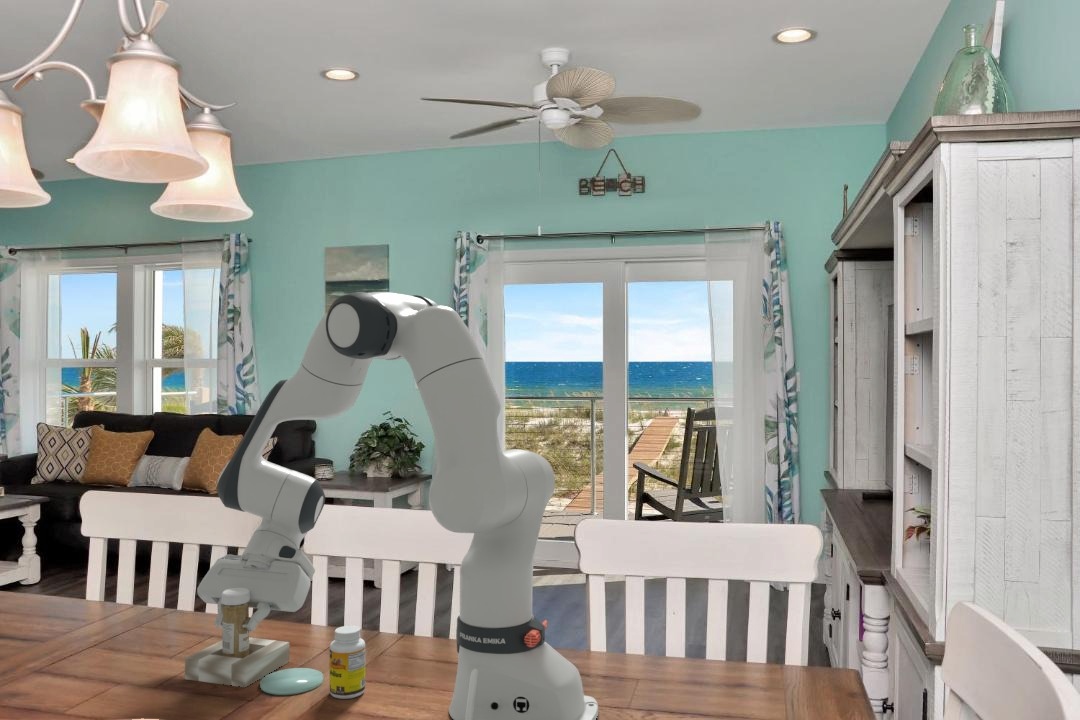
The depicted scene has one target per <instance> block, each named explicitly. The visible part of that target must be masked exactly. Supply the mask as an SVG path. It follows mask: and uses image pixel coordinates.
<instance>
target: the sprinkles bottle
mask: <svg viewBox="0 0 1080 720" xmlns="http://www.w3.org/2000/svg"><path fill="white" fill-rule="evenodd" d="M249 601H250V590H249V589H247V588H232V589H228V590H225V591H223V592H222V606H223V621H222V628H221V629H222V630H221V631H222V632H221V634H222V636H221V637H222V639H221V641H222V650H223V656H227V657H235V658H244V657H246V656H248V655H249V637H250V631H245V629H243V627H242V625H243V623H244V622H245V619H246V617H250V616H249V615H250V613H249V612H250V611H249V610H250V609H249Z"/></svg>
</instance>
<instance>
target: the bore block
mask: <svg viewBox="0 0 1080 720" xmlns="http://www.w3.org/2000/svg"><path fill="white" fill-rule="evenodd" d="M288 662H289V663H290V642H289V641H282V640H276V639H267V638H258V637H250V636H249V655H248V656H246V657H244V658H235V657H227V656H223V650H222V640H219V641H218V642H215V643H214V644H211V645H210V646H207V647H205V648H203V649H201V650H198V651H196V652H195V653H193V654H191V655H189V656H186V657H184V680H188V681H195V682H203V683H210V684H217V685H223V684H224V685H225V686H230V685H232V686H231V687H238V686H240V687H239V688H245V687H246V688H248V687H250V686H251V685H253V684H255V683H256V682H258V681H259V679H260V680H262V678H264V676H267V675H268V674H269V673H270V674H271V672H272V673H273V672H275V671H276V669H277V670H278V669H280V668H281V666H282V667H283V666H285V665H287V664H289V663H288ZM279 667H280V668H279ZM274 670H275V671H274ZM257 680H258V681H257ZM255 681H256V682H255ZM252 683H253V684H252ZM250 684H251V685H250ZM247 686H248V687H247Z"/></svg>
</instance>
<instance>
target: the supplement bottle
mask: <svg viewBox="0 0 1080 720" xmlns="http://www.w3.org/2000/svg"><path fill="white" fill-rule="evenodd" d="M333 638H334V640H333V641H331V642H330V644H329V694H330V695H331V696H332V697H333V698H336V699H340V700H348V699H355V698H358V697H359V696H361V695H362V694H364V692H365V690H366V641H365V640H364V639H363V638H361V628H360V627H359V626H357V625H343V626H339V627H337V628H336V629H335V630H334V637H333Z"/></svg>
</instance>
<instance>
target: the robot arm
mask: <svg viewBox="0 0 1080 720" xmlns="http://www.w3.org/2000/svg"><path fill="white" fill-rule="evenodd" d="M372 360H387V361H394V360H397V361H398V360H405V361H406V362H407V363H408V365H409V367H410V369H411V372H412V375H413V379H414V380H415V383H416V386H417V389H418V391H419V392H418V393H419V394H420V397H421V399H422V402H423V405H424V407H425V411H426V413H427V416H428V419H429V421H430V422H429V423H430V424H431V428H432V432H433V437H434V444H435V455H436V469H435V474H434V477H433V479H432V481H431V484H430V487H429V493H428V502H429V507H430V511H431V513H432V515H433V517H434V518H435V520H436V522H437V523H439V525H440V526H442V528H444V529H445V530H447V531H449V532H453V533H457V534H458V533H459V534H473V537H472V540H471V543H470V545H469V548H468V550H467V552H466V554H465V555H464V557H463V559H462V560H461V563H460V567H459V615H458V617H457V619H456V630H455V631H456V633H455V641H456V652H457V654H458V657H457V668H456V676H455V683H454V688H453V693H452V699H451V702H450V703H449V704H450V705H449V708H448V714H449V715H450V717H451V719H453V720H596V718H597V719H598V717H599V712H598V711H599V703H598V702H597V700H596V699H595V698H594V696H590V695H585V693H584V689H583V688H584V687H583V681H582V677H581V674H580V672H579V670H578V668H577V667H576V666H575V664H573V663H572V662H570V661H569V660H568V659H566V658H565V657H564V656H563V655H562V654H561V653H560V652H558V651H557V650H555V649H554V648H553V646H551V645H550V644H549V643H548V642H546V629H547V628H548V625H547V624H548V620H547V619H545V620H543V622H541V621H540V620H539V619H538V618H537V617H536V616H535V614H533V589H534V587H533V581H534V580H533V579H534V577H533V576H534V562H535V557H536V549H537V544H538V540H539V535H540V531H541V527H542V522H543V517H544V514H545V511H546V508H547V505H548V504H549V502H550V500H551V498H552V497H553V495H554V491H555V488H556V478H555V472H554V470H553V468H552V466H551V464H550V462H549V461H548V460H547V459H546V458H545V457H544V456H542V455H540V454H539V453H537V452H533V451H530V450H525V449H518V448H516V449H515V448H514V449H513V448H512V449H507V450H502V449H501V446H500V441H499V434H498V418H499V416H500V412H501V407H502V406H501V401H500V398H499V396H498V394H497V391H496V388H495V386H494V384H493V382H492V379H491V376H490V373H489V371H488V369H487V366H486V364H485V361H484V359H483V356H482V354H481V351H480V348H479V347H478V345H477V342H476V341H475V339H474V337H473V335H472V333H471V332H470V330H469V328H468V326H467V325H466V323H465V321H464V320H463V318H462V317H461V316H460V314H459V313H458V312H457V311H456V310H454V309H453V308H451V307H450V306H446V305H439V304H437V302H435V301H433V300H432V299H429V298H427V297H425V296H422V295H409V294H403V293H397V292H394V291H393V292H392V291H372V292H365V291H356V292H351V293H347V294H344V295H342V296H339V297H337V299H335V300H333V302H332V304H331V305H330V307H329V308H328V311H327V312H326V313H325V314H324V315H323V316H322V317H321V319H320V320H319V322H318V324H317V326H316V328H315V330H314V332H313V333H312V336H311V338H310V339H309V342H308V345H307V347H306V349H305V351H304V354H303V357H302V360H301V364H300V365H299V367H298V370H297V371H296V372H295V374H293V375H292V376H291V377H290V378H289V379H281V380H279V381H278V382H277V383H276V384H275V385H274V386H273V387H272V388H271V389H270V390H269V392H268V393H267V394H266V397H265V398H264V399H263V401H262V403H261V404H260V406H259V408H258V410H257V411H256V414H255V415H254V417H253V419H252V420H251V422H250V424H249V425H248V427H247V430H246V432H245V433H244V435H243V437H242V439H241V441H240V443H239V445H238V447H237V448H236V450H235V451H234V453H233V455H232V456H231V458H230V460H228V462H227V463H226V464H225V466H224V467H223V469H222V470H221V472H220V474H219V476H218V478H217V483H216V484H217V485H216V488H215V490H216V494H217V496H218V497H219V499H220V501H221V503H222V504H223V505H224V507H225V508H228V509H232V510H236V511H240V512H246V513H249V514H250V515H251V514H252V515H255V516H257V517H261V519H262V520H261V523H260V525H259V526H258V527H257V528H256V529H255V531H253V533H252V536H251V537H250V539H249V541H248V542H247V545H246V547H245V549H244V550H243V553H242V554H237V555H234V554H231V553H229V554H226V555H224V556H222V557H220V558H218V559H216V561H215V562H214V563H213V565H212V566H211V567H210V569H208V571H207V573H206V574H205V575H204V577H203V578H202V580H201V582H200V583H199V584H198V587H197V589H196V590H197V595H198V597H199V598H200V599H201V600H202V602H204V603H205V604H211V605H217V616H216V617H215V620H214V625H215V627H217V628H219V629H222V621H223V606H222V592H223V591H225V590H228V589H232V588H247V589H249V590H250V601H249V608H250V609H251V608H252V609H256V611H255V612H254V613H253V614H252V615H251V616H249V617H246V619H245V622H244V623H243V625H242V627H243V629H245V631H249V632H255V630H256V628H257V626H258V624H259V623H260V622H262V621H263V620H264V619H266V618H267V616H269V614H270V612H271V611H281V612H290V613H291V612H292V613H296V612H298V610H300V609H301V608H302V607H303V605H304V604H305V601H306V599H307V596H308V593H309V591H310V588H311V578H313V576H314V575H315V573H316V569H315V567H314V565H313V563H312V562H311V560H310V559H309V558H308V557H307V555H306V554H305V553H304V552H303V551H302V550H301V549H300V547H301V546H300V545H301V543H302V541H303V539H304V538H305V536H306V535H307V534H308V532H310V531H311V530H312V529H314V528H315V525H316V523H317V521H318V519H319V517H320V515H321V513H322V511H323V509H324V506H325V503H326V495H325V491H324V489H323V487H322V485H321V483H320V481H319V480H318V479H316V478H314V477H312V476H310V475H308V474H306V473H302V472H299V471H297V470H294V469H290V468H288V467H284V466H281V465H279V464H276V463H273V462H271V461H268V460H267V459H265V458H264V457H263V454H262V453H263V451H264V449H265V447H266V446H267V445H268V443H269V441H270V439H271V437H272V435H273V433H274V432H275V430H276V428H277V426H278V425H279V424H282V422H287V421H299V420H300V421H301V420H302V421H303V420H304V421H305V420H306V421H308V420H309V421H322V420H330V419H333V418H336V417H339V416H341V415H343V414H345V413H347V412H348V411H350V410H351V409H352V407H353V406H354V404H355V403H356V402H357V399H358V397H359V395H360V392H361V391H362V388H363V386H364V382H365V380H366V377H367V374H368V371H369V368H370V364H371V363H372V362H373V361H372ZM597 716H598V717H597Z"/></svg>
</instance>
